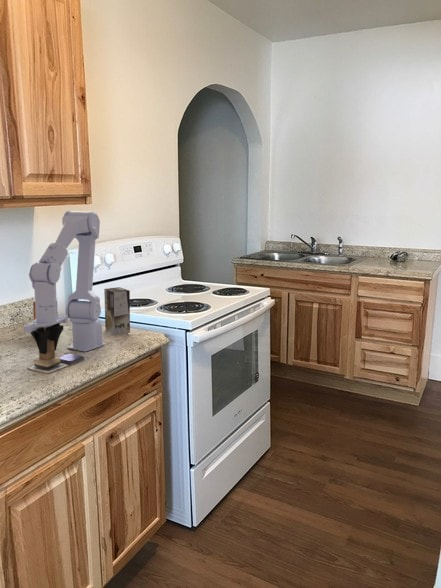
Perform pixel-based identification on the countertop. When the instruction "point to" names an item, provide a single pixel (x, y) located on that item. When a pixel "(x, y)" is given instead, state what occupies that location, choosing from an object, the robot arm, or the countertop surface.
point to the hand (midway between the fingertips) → (47, 351)
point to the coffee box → (117, 311)
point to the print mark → (48, 368)
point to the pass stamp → (47, 357)
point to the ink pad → (71, 359)
